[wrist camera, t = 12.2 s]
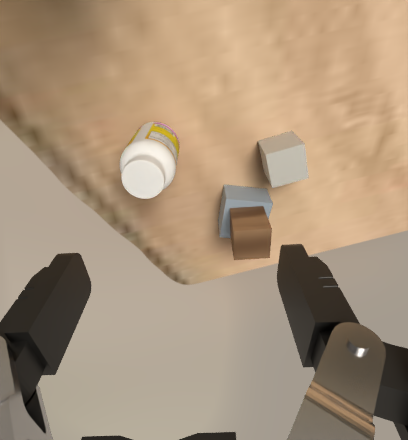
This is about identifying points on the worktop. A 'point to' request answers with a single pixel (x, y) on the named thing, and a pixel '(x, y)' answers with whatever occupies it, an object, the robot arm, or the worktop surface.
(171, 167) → the supplement bottle
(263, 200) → the base block
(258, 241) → the walnut block
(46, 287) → the robot arm
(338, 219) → the worktop surface
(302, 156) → the grey block
